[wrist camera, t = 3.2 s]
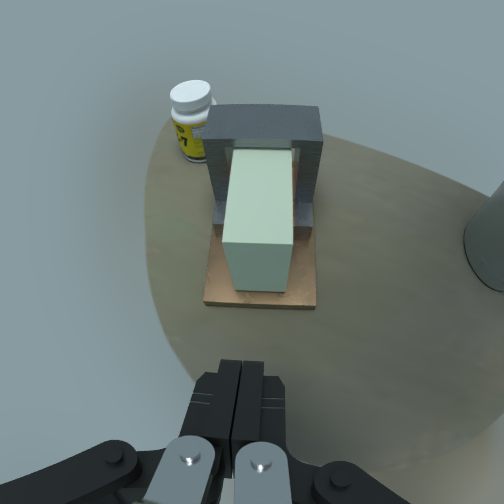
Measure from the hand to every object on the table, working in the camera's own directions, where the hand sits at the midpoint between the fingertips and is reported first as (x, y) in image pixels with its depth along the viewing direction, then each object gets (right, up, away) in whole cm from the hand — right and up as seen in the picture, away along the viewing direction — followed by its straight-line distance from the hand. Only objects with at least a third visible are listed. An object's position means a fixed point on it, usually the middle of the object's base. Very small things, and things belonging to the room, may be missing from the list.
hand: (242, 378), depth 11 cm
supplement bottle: (-5, +16, +24) cm, 29 cm away
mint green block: (+1, +5, +16) cm, 17 cm away
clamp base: (+1, +7, +19) cm, 20 cm away
